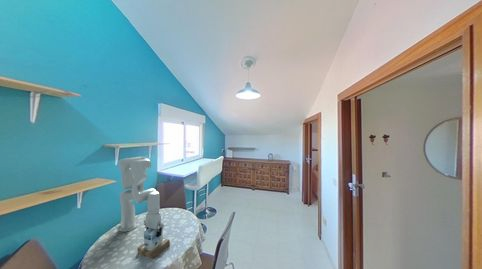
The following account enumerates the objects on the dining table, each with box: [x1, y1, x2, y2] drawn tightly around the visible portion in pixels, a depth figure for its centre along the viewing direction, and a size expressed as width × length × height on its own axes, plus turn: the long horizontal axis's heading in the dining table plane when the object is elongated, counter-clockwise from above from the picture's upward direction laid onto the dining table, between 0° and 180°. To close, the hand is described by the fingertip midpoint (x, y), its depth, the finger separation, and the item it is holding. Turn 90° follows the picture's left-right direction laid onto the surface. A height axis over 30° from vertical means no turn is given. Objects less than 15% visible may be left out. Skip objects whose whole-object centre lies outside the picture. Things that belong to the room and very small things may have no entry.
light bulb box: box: [143, 227, 164, 249], centre depth 117 cm, size 11×7×11 cm, turn 166°
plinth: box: [137, 237, 171, 260], centre depth 117 cm, size 14×14×4 cm
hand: (153, 234), depth 117 cm, fingers open, 9 cm apart
